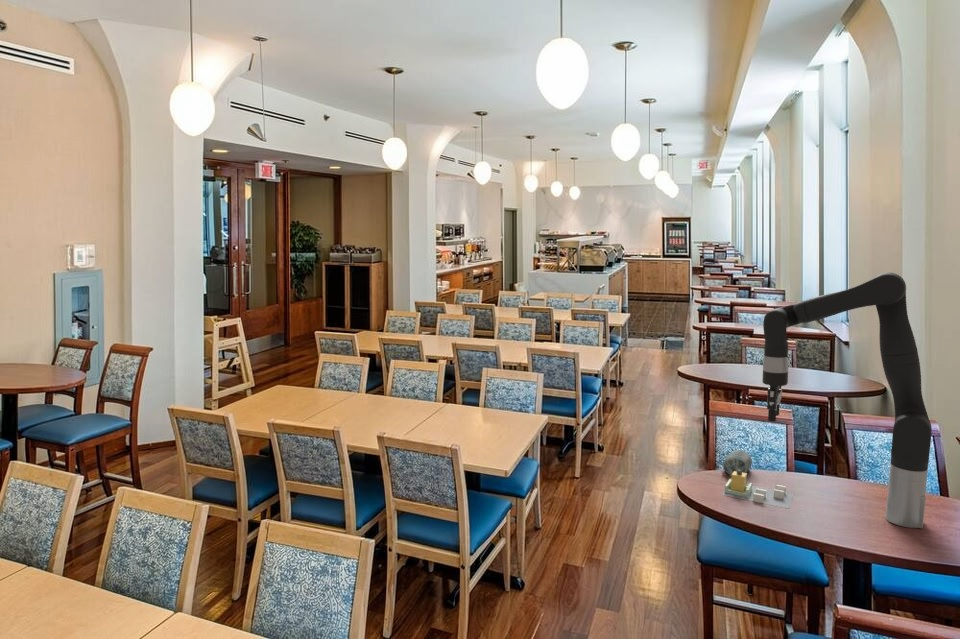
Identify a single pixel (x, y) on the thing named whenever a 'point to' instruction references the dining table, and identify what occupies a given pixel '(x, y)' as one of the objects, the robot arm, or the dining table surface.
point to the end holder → (748, 491)
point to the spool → (737, 462)
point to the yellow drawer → (738, 481)
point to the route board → (767, 497)
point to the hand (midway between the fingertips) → (773, 418)
